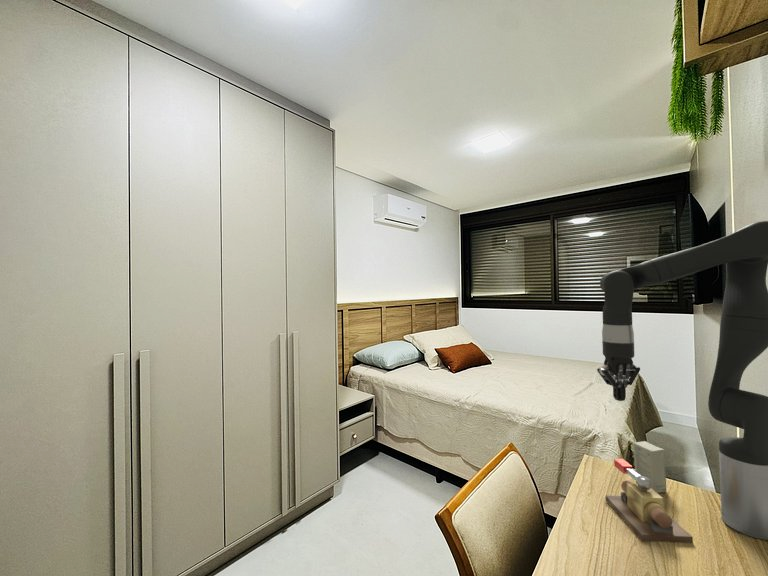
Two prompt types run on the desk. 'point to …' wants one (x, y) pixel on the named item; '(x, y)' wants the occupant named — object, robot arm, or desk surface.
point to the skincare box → (650, 464)
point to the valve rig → (647, 515)
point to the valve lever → (632, 473)
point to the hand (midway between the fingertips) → (619, 399)
